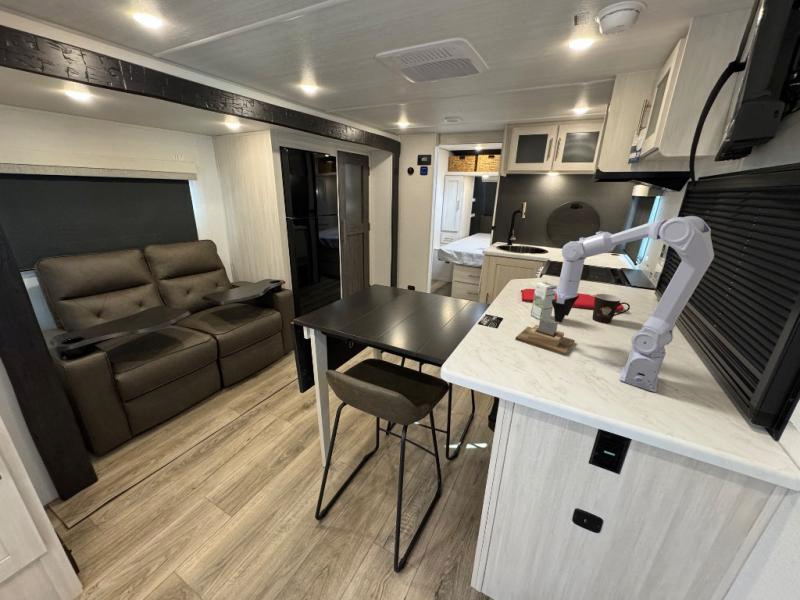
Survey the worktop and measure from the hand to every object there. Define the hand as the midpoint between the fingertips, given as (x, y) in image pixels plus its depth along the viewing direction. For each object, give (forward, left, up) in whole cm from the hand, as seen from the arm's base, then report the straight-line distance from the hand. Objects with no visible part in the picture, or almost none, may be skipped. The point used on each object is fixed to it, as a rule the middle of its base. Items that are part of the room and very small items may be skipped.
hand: (561, 318), depth 102 cm
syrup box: (+20, +11, -10) cm, 24 cm away
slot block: (-1, +3, -9) cm, 10 cm away
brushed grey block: (-1, +3, -8) cm, 9 cm away
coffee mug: (+34, -10, -10) cm, 36 cm away
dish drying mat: (+48, +8, -10) cm, 50 cm away
